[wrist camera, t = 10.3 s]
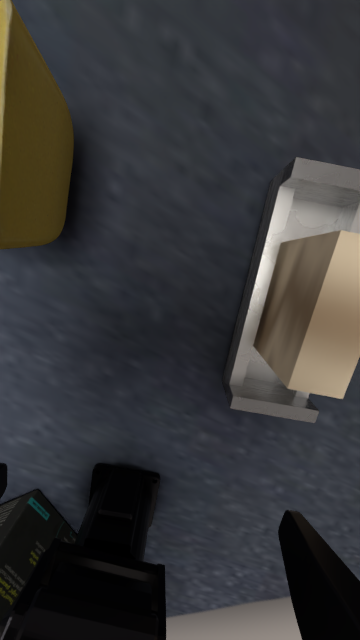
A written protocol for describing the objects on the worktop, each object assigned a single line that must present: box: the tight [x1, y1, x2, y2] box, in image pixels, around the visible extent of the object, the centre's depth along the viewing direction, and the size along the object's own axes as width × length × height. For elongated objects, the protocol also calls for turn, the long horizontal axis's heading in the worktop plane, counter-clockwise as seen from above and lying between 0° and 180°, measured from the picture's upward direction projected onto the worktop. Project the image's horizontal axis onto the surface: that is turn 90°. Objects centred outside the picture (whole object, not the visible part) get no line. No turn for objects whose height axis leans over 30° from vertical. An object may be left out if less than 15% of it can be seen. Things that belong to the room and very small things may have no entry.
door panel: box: [253, 230, 360, 399], centre depth 15 cm, size 8×3×7 cm, turn 169°
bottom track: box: [222, 157, 360, 423], centre depth 17 cm, size 16×6×4 cm, turn 170°
